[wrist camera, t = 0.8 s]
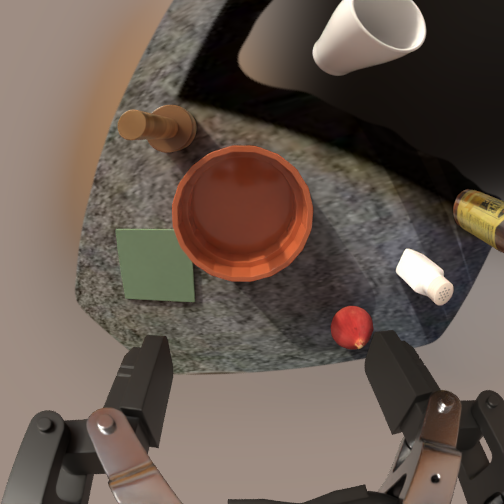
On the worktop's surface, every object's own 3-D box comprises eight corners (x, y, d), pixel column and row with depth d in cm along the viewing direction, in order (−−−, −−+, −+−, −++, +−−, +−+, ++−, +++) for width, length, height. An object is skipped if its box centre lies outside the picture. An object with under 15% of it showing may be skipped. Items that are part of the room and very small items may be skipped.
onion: (366, 296, 40) (389, 327, 32) (356, 328, 42) (374, 362, 34) (329, 294, 39) (347, 328, 32) (321, 328, 41) (335, 364, 34)
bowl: (181, 145, 31) (170, 146, 26) (306, 148, 32) (318, 150, 27) (184, 260, 37) (176, 280, 32) (296, 262, 37) (305, 282, 32)
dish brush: (153, 108, 29) (100, 94, 17) (197, 106, 30) (168, 85, 17) (152, 152, 31) (100, 163, 18) (196, 150, 32) (166, 159, 19)
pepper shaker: (423, 253, 38) (460, 283, 29) (412, 277, 39) (445, 310, 30) (404, 246, 37) (441, 275, 28) (392, 271, 38) (426, 305, 30)
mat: (116, 228, 35) (115, 229, 34) (191, 229, 35) (191, 230, 35) (126, 297, 38) (125, 298, 38) (195, 300, 39) (194, 302, 38)
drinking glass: (369, 69, 28) (441, 40, 14) (326, 91, 29) (385, 65, 16) (338, 25, 26) (393, -27, 12) (294, 45, 27) (330, -10, 13)
